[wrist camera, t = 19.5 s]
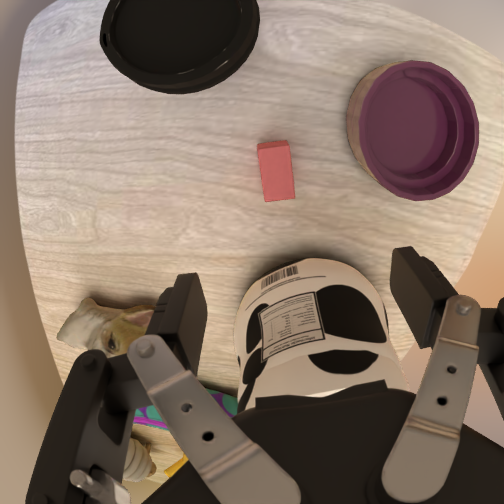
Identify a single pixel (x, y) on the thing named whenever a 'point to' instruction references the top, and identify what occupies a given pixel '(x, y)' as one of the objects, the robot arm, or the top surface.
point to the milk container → (312, 333)
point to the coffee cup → (179, 41)
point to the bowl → (413, 129)
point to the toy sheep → (138, 462)
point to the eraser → (276, 170)
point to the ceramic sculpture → (105, 327)
